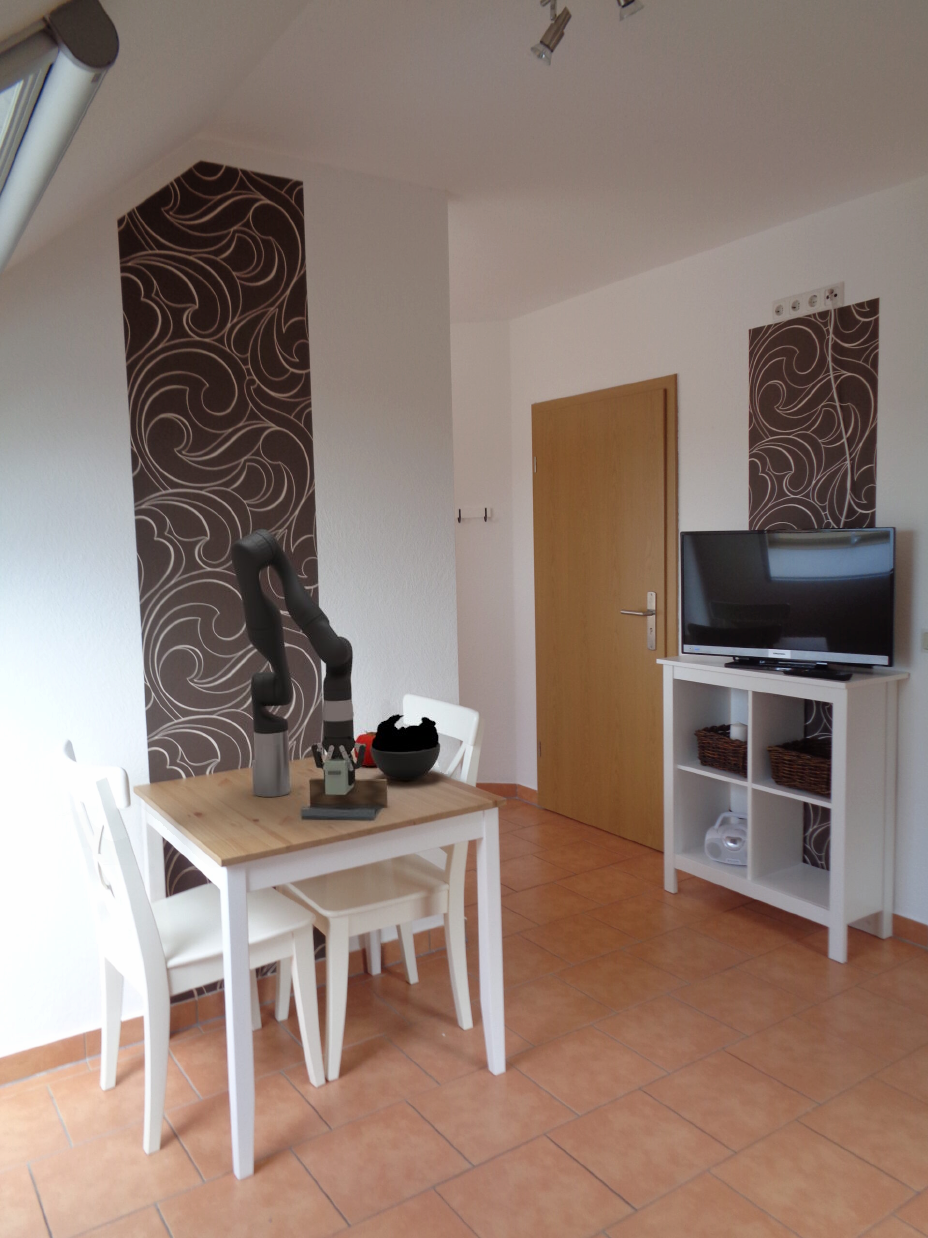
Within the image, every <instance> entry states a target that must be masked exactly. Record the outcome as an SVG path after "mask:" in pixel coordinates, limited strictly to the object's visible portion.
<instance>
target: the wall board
mask: <svg viewBox="0 0 928 1238" xmlns="http://www.w3.org/2000/svg"><path fill="white" fill-rule="evenodd" d="M308 781H309V784H308V786H309V808H310V807H311V806H312V805H313V804H382V807H383V808H385V809H387V807H388V779H387V778H384V779H383V778H355V782H354V787H353V788H352V789H351V790H350V791H349V792H348V793H346V794H345V795H337V794H325V782H324V778H319V777H318V778H312V777H311V778H310V779H309V780H308ZM383 808H382V809H383Z"/></svg>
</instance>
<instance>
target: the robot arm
mask: <svg viewBox="0 0 928 1238" xmlns="http://www.w3.org/2000/svg"><path fill="white" fill-rule="evenodd" d="M230 558H231V563H232V567H233V570H234V574H235V578H236V581H237V584H238V588H239V593H240V597H241V602H242V608H243V613H244V621H245V629H246V635H247V638H248V640H249V642H250V644H251V645H252V647H254V648H255V650H256V651H257V652H259V654H261V656H262V657H264V659H265V660H266V661H268V663H269V664H270V666H271V667H272V669H273V671H268V672H267V671H263V672H255V673H253V674H252V677H251V678H250V679H251V680H250V698H251V708H252V722H253V744H254V745H253V748H254V759H252V761H251V763H252V764H251V765H252V766H251V767H252V768H251V769H252V793H253V796H258V797H261V798H262V797H264V798H266V797H267V798H272V797H275V798H276V797H280V796H281V797H282V796H286V795H288V794H289V793H291V772H290V771H291V770H290V740H289V721H288V720H287V718H285V717H282V716H279V715H277V714H274V713H272V712H270V711H269V710H268V708H267V707H282V706H288V705H289V704H291V702H292V700H293V696H294V695H293V694H294V692H293V691H294V690H293V681H292V676H291V672H290V667H289V662H288V658H287V657H288V656H287V653H286V651H287V650H286V646H285V635H284V626H283V620H282V619H283V618H282V613H281V610H280V608H279V606H278V605H277V603H275V601H273V600H272V598H270V596H268V595H267V594H266V593H265V592H264V591H263V588H262V584H261V578H260V575H261V571H264V570H265V569H267V568H268V567H271V569H272V570H273V571H274V572H275V574H276V575H277V577H278V578H279V581H280V584H281V587H282V590H283V591H282V592H283V597H284V598H283V599H284V602H285V603H284V604H285V607H286V611H287V613H288V614H289V616H290V618H291V619H292V620H293V622H294V623H295V624H296V625H297V627H298V628H299V629H300V630H301V632H302V633H303V634H304V635H305V636H306V638H307V639H308V641H309V644H310V645H311V647H312V648H313V650H314V652H315V653H316V655H317V656H318V658H319V659H320V660H321V661H322V662H323V663H324V664H325V677H324V679H323V681H322V695H323V696H322V699H323V702H322V703H323V704H322V731H323V732H322V735H323V738H322V741H321V742H319V743H318V742H314V743H313V744H312V745H311V747H310V748H311V752H312V756H313V759H314V763H315V767H316V768H317V769H321V770H322V771H323V779H324V782H325V761H327V760H331V758H344V760H347V762H348V769H349V771H348V785H349V786H352V785H353V783H354V782H355V779H356V770H358V769H360V768H361V767H362V766H364V765H363V760H364V755H365V751H366V744H359V743H356V739H355V736H354V735H355V732H354V730H355V729H354V725H355V724H354V713H355V712H354V705H353V699H352V698H353V696H352V695H353V694H352V693H353V691H352V670H353V659H354V654H353V653H354V651H353V646H352V644H351V642H350V640H348V639H347V638H346V637H343V636H339V635H338V634H337V632H336V631H335V630H334V629H333V627H332V626H331V623H330V620H329V618H328V616H327V614H325V612H324V611H323V610H322V608H321V607H320V606H319V604H318V603H317V602H316V601H315V600H314V598H313V597H312V595H311V594H310V593H309V591H308V589H307V588H306V587H305V586H304V583H303V581H302V580H301V579H300V578H301V577H300V576H299V574H298V572H297V571H296V569H295V568H294V566H293V564H292V562H291V560H290V558H289V556H288V555H287V554H286V552H285V551H284V548H283V547H282V545H281V544H280V542H279V541H278V539H277V537H276V536H274V534H273V533H272V532H271V531H269V530H268V529H264V528H261V529H260V528H259V529H257V530H255V531H253V532H251V533H249V534H247V535H245V536H243V537H241V538H239V539H238V540H236V541H235V542H234V543H233V544H232V545H231V547H230ZM354 747H355V748H356V751H357V752H358V756H357V759H356V761H354V755H353V754H352V751H354ZM322 749H324V751H325V753H327V754H326V756H325V758H324V759H323V756H322V752H321V751H322ZM352 755H353V756H352Z"/></svg>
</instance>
